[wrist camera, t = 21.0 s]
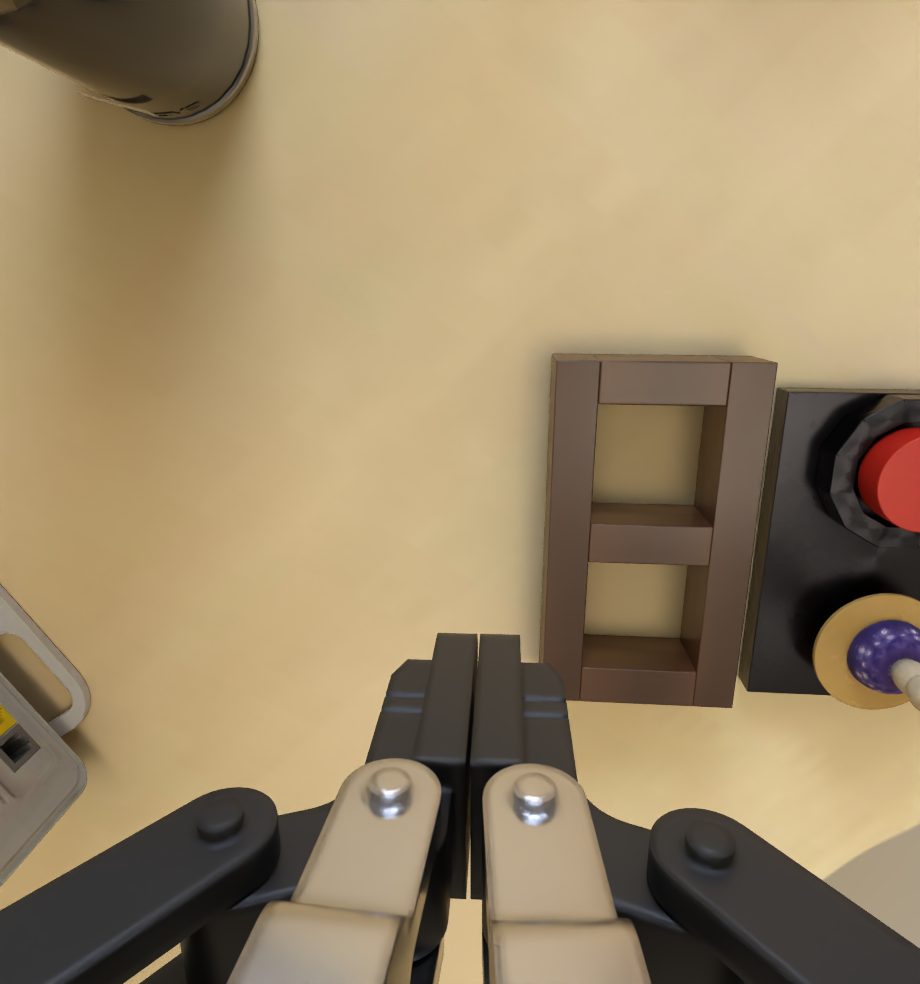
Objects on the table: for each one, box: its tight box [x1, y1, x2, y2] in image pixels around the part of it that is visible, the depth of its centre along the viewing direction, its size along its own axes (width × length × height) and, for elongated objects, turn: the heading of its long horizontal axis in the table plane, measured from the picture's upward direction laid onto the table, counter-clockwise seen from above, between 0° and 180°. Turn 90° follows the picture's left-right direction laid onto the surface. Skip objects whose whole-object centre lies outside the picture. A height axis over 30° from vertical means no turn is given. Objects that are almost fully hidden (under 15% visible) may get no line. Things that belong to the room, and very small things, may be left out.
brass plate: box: [812, 593, 920, 709], centre depth 38 cm, size 7×7×1 cm
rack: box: [539, 354, 778, 708], centre depth 38 cm, size 11×19×4 cm, turn 179°
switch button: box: [858, 427, 920, 532], centre depth 34 cm, size 5×5×2 cm
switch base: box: [739, 388, 920, 695], centre depth 38 cm, size 18×12×4 cm, turn 179°
